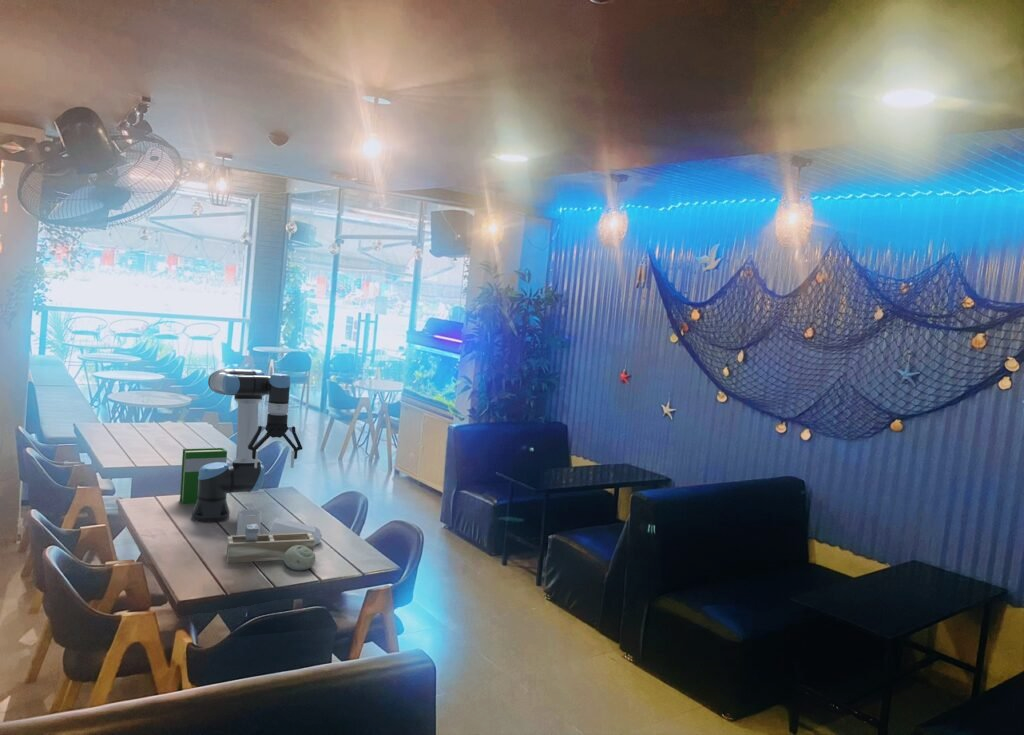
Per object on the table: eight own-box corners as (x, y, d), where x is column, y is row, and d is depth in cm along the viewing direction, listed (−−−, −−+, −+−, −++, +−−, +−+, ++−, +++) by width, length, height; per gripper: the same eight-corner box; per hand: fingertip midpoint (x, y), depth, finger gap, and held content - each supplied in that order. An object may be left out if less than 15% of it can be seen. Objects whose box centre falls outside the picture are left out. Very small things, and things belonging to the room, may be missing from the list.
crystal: (262, 527, 296) (311, 539, 287) (273, 515, 302) (321, 526, 293) (268, 540, 300) (315, 552, 291) (278, 528, 306) (326, 540, 297)
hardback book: (182, 504, 328) (186, 452, 326) (179, 500, 334) (182, 448, 332) (223, 501, 338) (227, 451, 336) (220, 497, 344) (223, 447, 342)
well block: (226, 553, 274) (227, 535, 273) (309, 549, 286) (310, 532, 286) (227, 562, 265) (229, 544, 264) (313, 558, 278) (314, 540, 277)
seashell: (321, 548, 268) (297, 550, 260) (318, 570, 267) (294, 573, 260) (301, 542, 276) (278, 543, 268) (298, 563, 275) (275, 565, 268)
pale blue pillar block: (244, 552, 274) (246, 524, 273) (255, 552, 275) (257, 523, 274) (245, 558, 268) (247, 529, 267) (256, 557, 270) (258, 528, 269)
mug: (260, 542, 289) (262, 515, 289) (237, 543, 286) (239, 515, 285) (257, 532, 300) (259, 506, 299) (234, 533, 296) (236, 507, 295)
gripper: (244, 414, 273) (240, 469, 275) (312, 416, 283) (308, 469, 285) (242, 411, 280) (239, 465, 281) (309, 412, 290) (305, 464, 292)
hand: (274, 467), depth 283 cm, fingers open, 13 cm apart
